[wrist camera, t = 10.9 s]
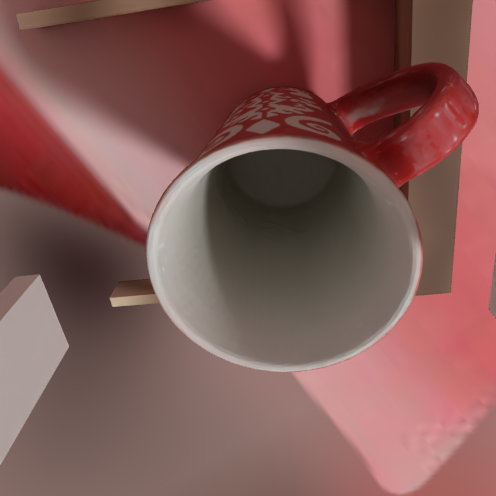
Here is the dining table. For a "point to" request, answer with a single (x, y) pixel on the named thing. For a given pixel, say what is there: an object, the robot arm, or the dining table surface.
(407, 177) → the mug
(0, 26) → the dining table surface
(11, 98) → the dining table surface
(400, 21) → the channel
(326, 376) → the dining table surface
